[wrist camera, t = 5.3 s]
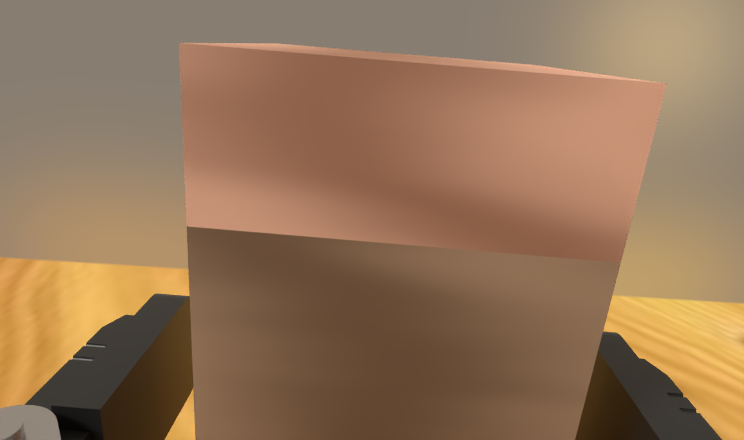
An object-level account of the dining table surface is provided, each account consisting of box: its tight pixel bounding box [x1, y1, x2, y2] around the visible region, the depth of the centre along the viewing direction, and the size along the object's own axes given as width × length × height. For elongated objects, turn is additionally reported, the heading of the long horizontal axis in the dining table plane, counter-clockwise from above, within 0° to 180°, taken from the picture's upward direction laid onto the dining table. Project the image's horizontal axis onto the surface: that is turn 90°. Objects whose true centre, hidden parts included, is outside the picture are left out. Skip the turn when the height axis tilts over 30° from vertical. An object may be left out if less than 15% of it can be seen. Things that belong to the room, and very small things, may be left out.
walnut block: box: [179, 43, 667, 440], centre depth 10 cm, size 5×5×12 cm
